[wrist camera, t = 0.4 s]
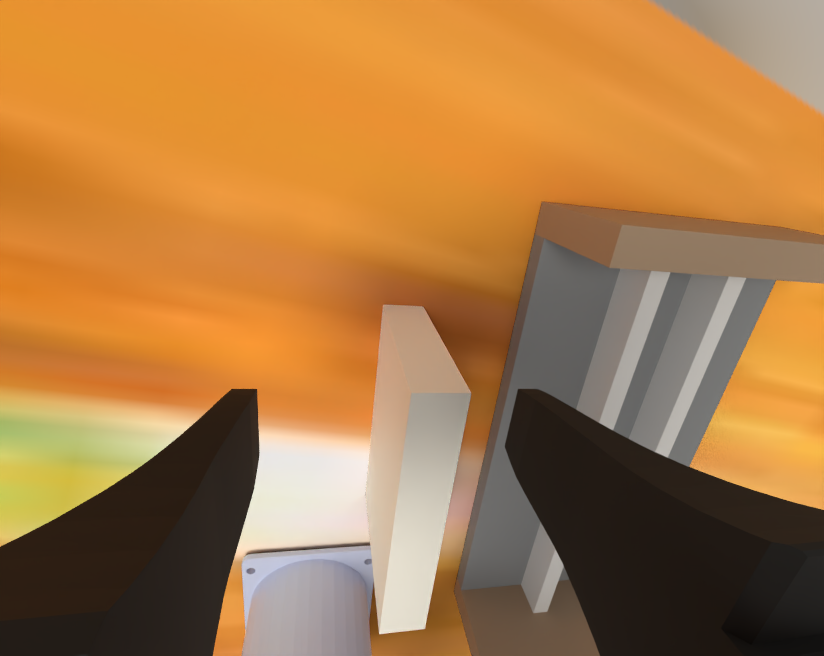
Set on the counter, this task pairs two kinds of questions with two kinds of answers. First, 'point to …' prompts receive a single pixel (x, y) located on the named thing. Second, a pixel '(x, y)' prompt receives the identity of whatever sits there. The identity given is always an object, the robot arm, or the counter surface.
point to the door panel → (411, 463)
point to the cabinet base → (611, 382)
